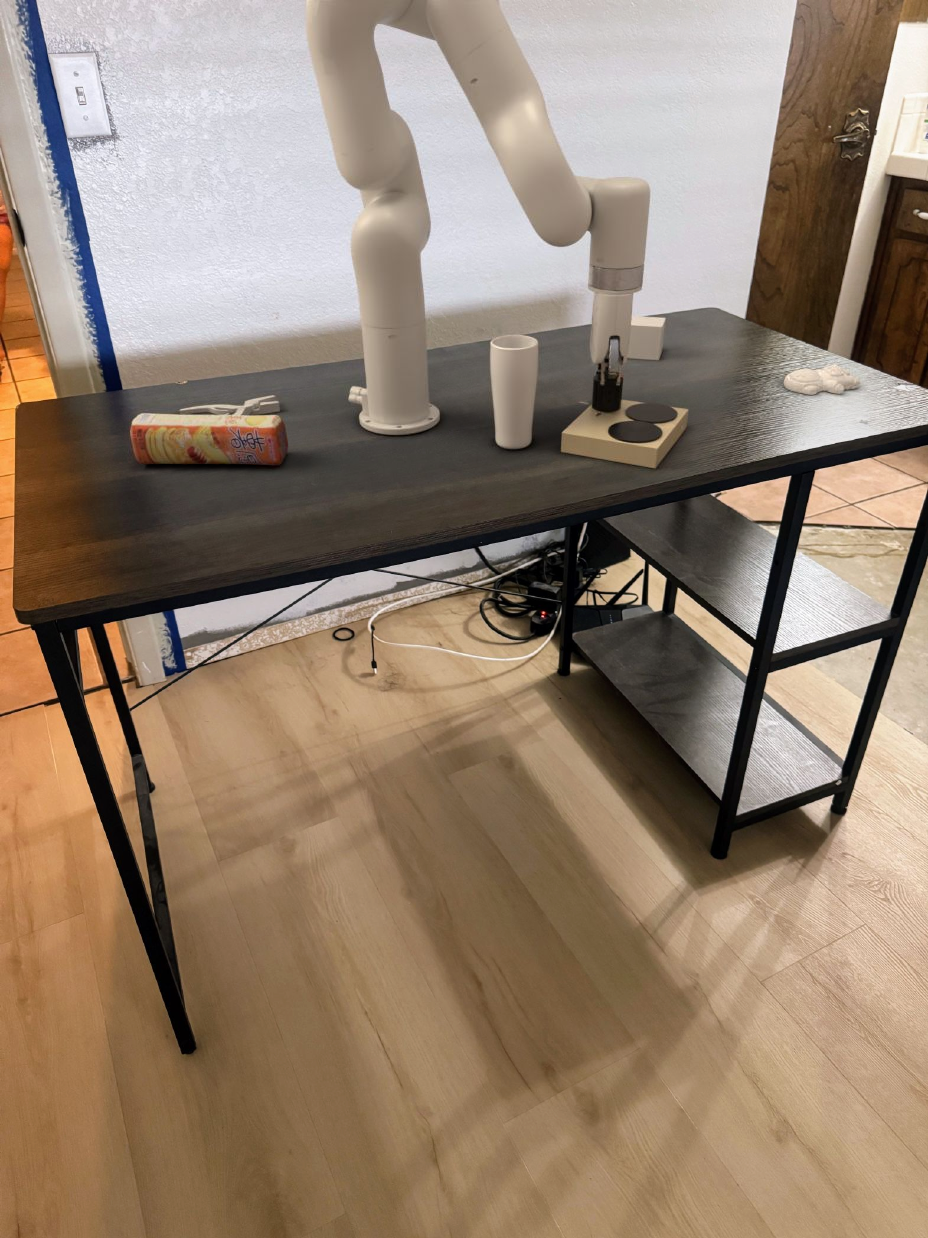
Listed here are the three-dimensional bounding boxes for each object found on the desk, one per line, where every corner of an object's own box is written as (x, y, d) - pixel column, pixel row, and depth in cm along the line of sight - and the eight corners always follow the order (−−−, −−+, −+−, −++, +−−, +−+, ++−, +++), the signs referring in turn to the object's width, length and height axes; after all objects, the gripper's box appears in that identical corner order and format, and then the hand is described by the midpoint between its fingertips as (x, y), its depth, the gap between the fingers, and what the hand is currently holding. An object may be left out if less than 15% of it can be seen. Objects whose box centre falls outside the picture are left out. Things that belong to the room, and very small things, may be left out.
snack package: (291, 451, 129) (285, 406, 125) (281, 470, 123) (274, 424, 119) (150, 451, 130) (139, 407, 126) (134, 469, 124) (122, 424, 121)
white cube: (630, 348, 166) (633, 315, 162) (662, 350, 164) (665, 317, 161) (625, 357, 161) (628, 324, 157) (658, 360, 159) (662, 326, 156)
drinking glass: (537, 434, 132) (539, 334, 123) (535, 453, 126) (538, 349, 118) (492, 434, 132) (491, 334, 124) (488, 452, 127) (488, 348, 118)
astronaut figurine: (865, 394, 143) (869, 375, 141) (791, 395, 143) (795, 377, 141) (846, 376, 150) (849, 358, 148) (775, 377, 150) (778, 360, 149)
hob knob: (591, 411, 131) (593, 380, 128) (591, 401, 134) (593, 370, 132) (621, 412, 130) (624, 380, 128) (620, 401, 134) (622, 370, 131)
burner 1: (618, 418, 128) (618, 416, 128) (634, 401, 134) (634, 399, 134) (669, 426, 125) (669, 424, 125) (683, 409, 131) (683, 407, 131)
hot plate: (549, 449, 127) (549, 429, 125) (588, 412, 139) (589, 392, 137) (655, 468, 121) (657, 447, 119) (686, 427, 133) (689, 407, 131)
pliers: (178, 403, 141) (269, 389, 146) (180, 413, 142) (270, 398, 147) (188, 424, 134) (284, 408, 139) (190, 434, 135) (285, 417, 140)
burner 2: (600, 437, 123) (600, 435, 123) (618, 419, 128) (618, 417, 128) (653, 446, 120) (653, 444, 120) (668, 427, 125) (669, 425, 125)
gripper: (585, 263, 129) (579, 384, 139) (592, 292, 115) (584, 424, 125) (636, 262, 129) (626, 384, 139) (649, 292, 115) (637, 424, 125)
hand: (606, 402), depth 132 cm, fingers closed on hob knob, 4 cm apart
